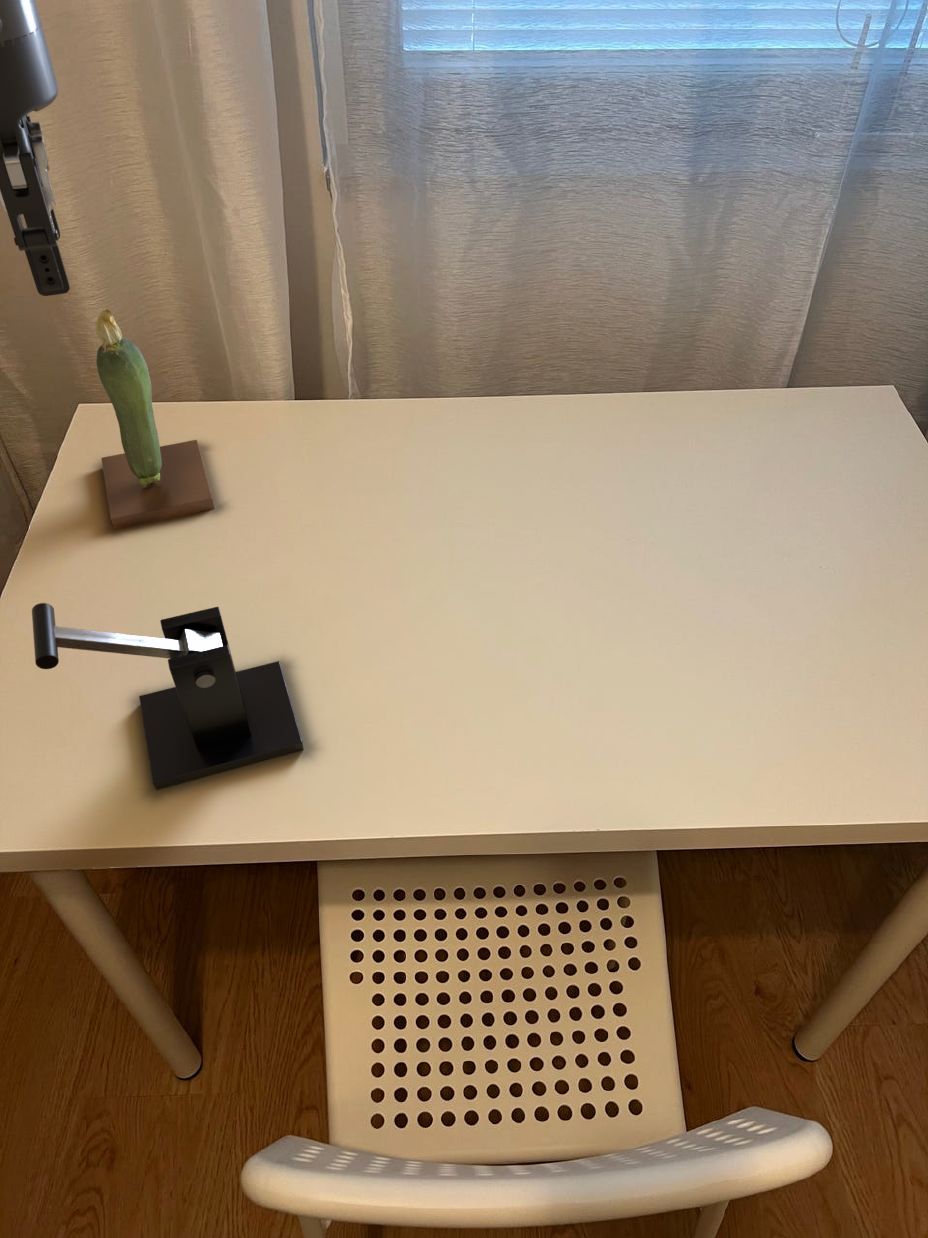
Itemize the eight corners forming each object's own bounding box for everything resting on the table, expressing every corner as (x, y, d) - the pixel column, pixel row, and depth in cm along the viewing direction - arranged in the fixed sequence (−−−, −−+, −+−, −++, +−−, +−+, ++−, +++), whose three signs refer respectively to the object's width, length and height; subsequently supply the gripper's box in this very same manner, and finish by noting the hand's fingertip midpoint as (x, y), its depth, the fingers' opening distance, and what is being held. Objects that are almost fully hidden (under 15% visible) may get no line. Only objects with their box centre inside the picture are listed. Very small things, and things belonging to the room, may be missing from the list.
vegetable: (131, 469, 98) (76, 292, 83) (173, 462, 99) (127, 286, 84) (134, 496, 95) (78, 319, 80) (178, 489, 96) (130, 312, 81)
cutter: (155, 791, 75) (118, 704, 66) (142, 703, 80) (105, 612, 71) (304, 750, 77) (287, 661, 68) (281, 669, 83) (262, 576, 74)
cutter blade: (31, 673, 63) (40, 649, 62) (27, 620, 67) (36, 596, 65) (217, 688, 71) (228, 667, 70) (206, 640, 74) (216, 619, 73)
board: (114, 530, 94) (110, 519, 93) (104, 468, 100) (101, 457, 99) (215, 509, 96) (212, 498, 95) (199, 450, 102) (196, 439, 101)
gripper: (-87, -9, 62) (-6, 229, 74) (-91, 61, 54) (1, 320, 66) (32, -16, 64) (93, 218, 76) (47, 51, 56) (112, 304, 67)
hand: (50, 265), depth 71 cm, fingers open, 8 cm apart
